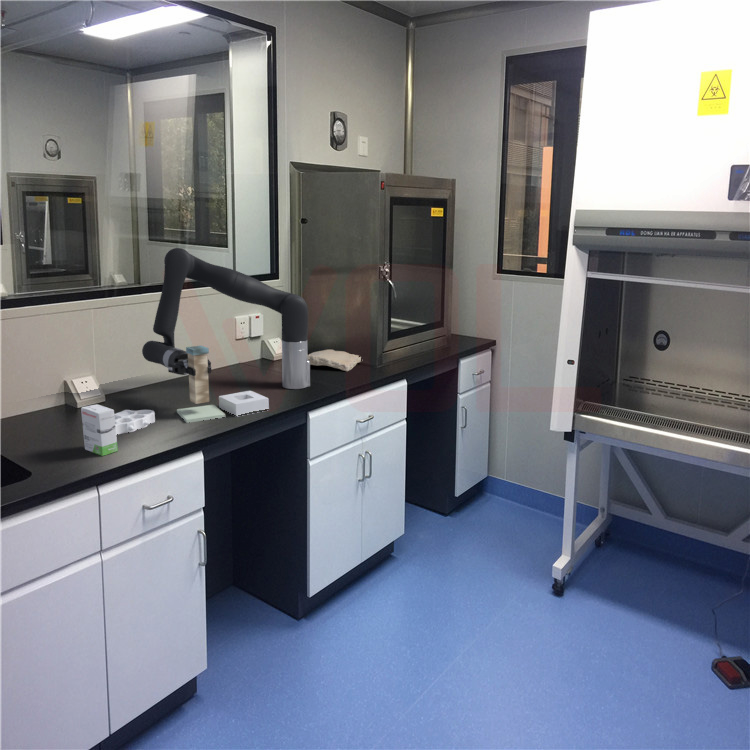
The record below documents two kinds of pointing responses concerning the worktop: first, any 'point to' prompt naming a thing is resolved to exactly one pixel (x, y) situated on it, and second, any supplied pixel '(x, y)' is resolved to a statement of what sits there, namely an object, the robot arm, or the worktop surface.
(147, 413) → the white multi-hole tray
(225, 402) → the white square stand
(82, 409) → the ink box
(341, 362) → the flat sandstone piece
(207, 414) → the pad
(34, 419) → the worktop surface
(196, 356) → the plug
